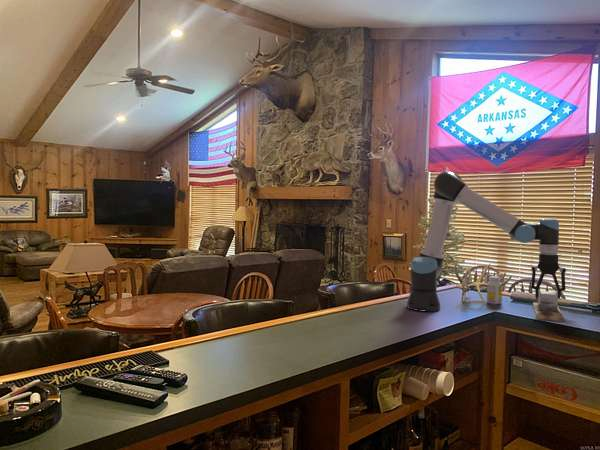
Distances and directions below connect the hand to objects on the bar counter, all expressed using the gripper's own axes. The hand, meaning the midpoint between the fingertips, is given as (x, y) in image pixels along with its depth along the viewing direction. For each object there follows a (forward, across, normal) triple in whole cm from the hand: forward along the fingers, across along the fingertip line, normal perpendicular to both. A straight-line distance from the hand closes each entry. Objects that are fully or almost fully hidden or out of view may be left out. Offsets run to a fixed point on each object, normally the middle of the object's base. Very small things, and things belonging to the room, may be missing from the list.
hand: (547, 305), depth 201 cm
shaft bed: (+3, 0, 0) cm, 3 cm away
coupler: (0, 0, 0) cm, 0 cm away
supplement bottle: (+4, -22, +12) cm, 25 cm away
